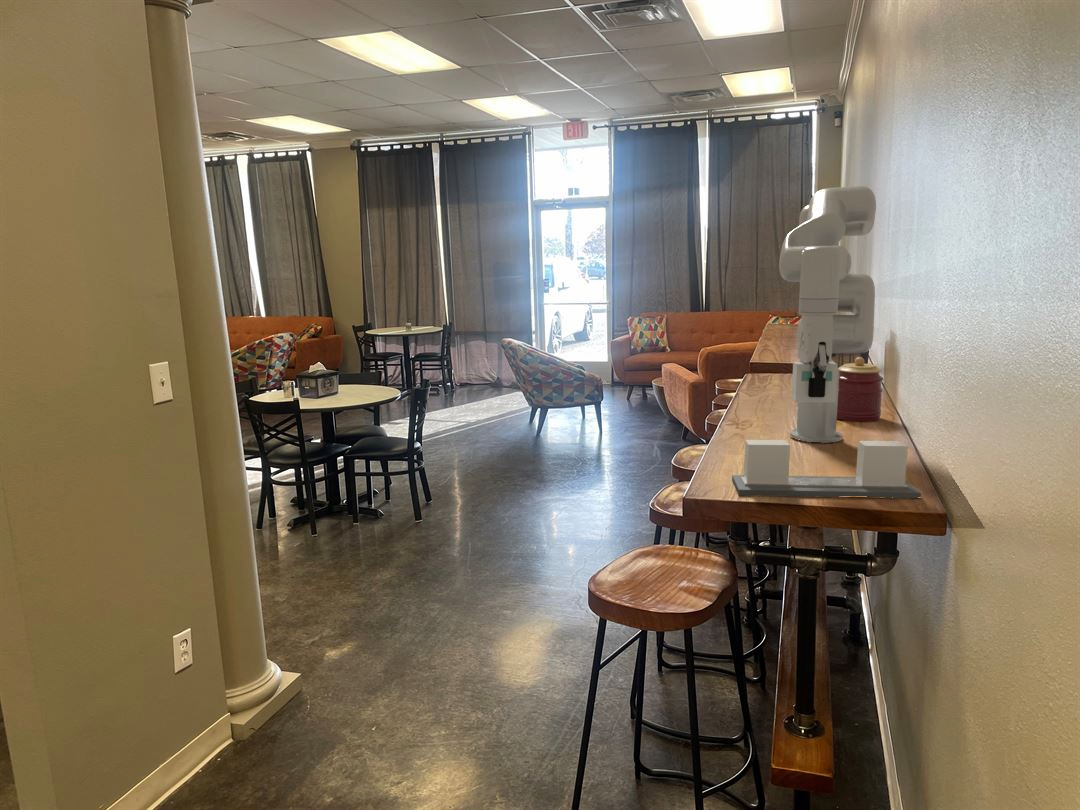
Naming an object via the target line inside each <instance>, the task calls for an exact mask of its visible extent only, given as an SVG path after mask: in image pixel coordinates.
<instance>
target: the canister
mask: <svg viewBox="0 0 1080 810" xmlns="http://www.w3.org/2000/svg"><path fill="white" fill-rule="evenodd" d="M838 369H839V390H838V407H837V418H838V419H837V420H840V419H841V421H845V420H846V422H854V423H855V422H856V423H870V422H872V423H873V422H877V421H879V420H880V418H881V416H882V398H883V397H882V396H883V395H882V394H883V391H884V390H883V388H882V382H883V381H884V380H885V379H884V377H883V376H881V375H880V373H881V372H882V371H881V368H879V367H877V365H875V364H870V363H865V359H864V358H863V357H862V356H858V357H856V358H855V359H854V362H853V363H844V364H843V365H841V366H839V367H838Z"/></svg>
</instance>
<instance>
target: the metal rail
mask: <svg viewBox="0 0 1080 810" xmlns="http://www.w3.org/2000/svg"><path fill="white" fill-rule="evenodd" d="M741 479H742V481H743V483H744V485H745V486H779V487H838V488H897V489H908V486H907V485H906V484H905V486H880V485H861V484H860V483H859V482H858V481H857V480H856V479H855V478H790V477H789V479H788V484H759V483H747V482H746V480H745V478H744V477H741Z"/></svg>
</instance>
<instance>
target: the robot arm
mask: <svg viewBox="0 0 1080 810" xmlns="http://www.w3.org/2000/svg"><path fill="white" fill-rule="evenodd" d="M876 212H877V201H876V196H875V193H874V192H873V190H872V189H871V188H869V187H868V186H865V185H864V186H863V185H862V186H861V185H860V186H859V185H858V186H857V185H856V186H843V187H842V186H841V187H828V188H827V187H826V188H823V189H822V188H821V189H820V190H818V191H816V192H815V193H814V194H813V195H812V196H811V198H810V200H809V204H807V205H806V206H804V207H803V208H802V210H801V212H799V213H800V214H799V221H798V222H799V225H798V226H796V228H794V229H793V230H791V231H790V232H789V233H788V234H787V235H786V236H785V238H784V240H783V241H782V245H781V250H780V255H779V262H778V263H779V264H778V265H779V266H778V268H779V269H778V270H779V274H780V277H781V278H782V280H784V281H787V282H789V283H794V282H795V283H798V282H799V296H798V297H799V300H798V315H800V316H801V319H800V321H799V323H798V325H797V341H798V343H797V344H798V346H797V358H798V359H799V362H805V363H807V364H809V363H810V362H811V378H809V388H808V396H809V397H824V396H825V383H826V367H827V363H829V362H834V363H836V361H834V360H833V359H832V354H854V355H855V354H864V353H867V352H868V351H870V349H871V348H872V346H873V341H874V333H875V332H874V331H875V329H874V327H875V307H876V304H875V300H876V299H875V298H876V293H875V291H876V290H875V289H876V288H875V282H874V280H873V278H872V277H871V276H870V275H869V274H867V273H850V271H851V267H852V256H851V254H850V252H849V251H848V249H847V248H846V247H844V246H842V245H838V243H840V242H841V240H842V239H843V238H844V237H855V236H856V237H857V236H858V237H860V236H866V235H868V234H870V232H871V231H872V230H873V227H874V225H875V219H876ZM838 313H852V314H838ZM814 362H819V363H814ZM815 366H816V368H815ZM838 368H839V367H838V366H837V384H836V402H797V406H798V409H797V414H796V428H795V429H792V430H791V431H790V432H789V436H790V437H791V436H792V437H794V438H797V439H800V440H804V441H809V442H808V443H811V442H821V443H820V444H832V443H831V442H833V443H837V442H841V441H842V440H843V434H842V433H841V432H839V431H837V420H838V419H837V407H838V390H839V369H838ZM804 441H803V442H804Z"/></svg>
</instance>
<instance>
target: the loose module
mask: <svg viewBox="0 0 1080 810" xmlns="http://www.w3.org/2000/svg"><path fill="white" fill-rule="evenodd" d="M834 362H835V361H834ZM834 362H829V363H827V367H826V383H825V396H824V397H809V396H808V388H809V378H811V362H810V363H809V364H807V363H805V362H800V361H792V379H791V380H792V381H791V382H792V383H791V400H792V401H793V402H794V403H798V402H836V384H837V367H838V366H839V365H838V363H836V362H835V363H834ZM814 363H819V362H814ZM815 368H816V366H815Z"/></svg>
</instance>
